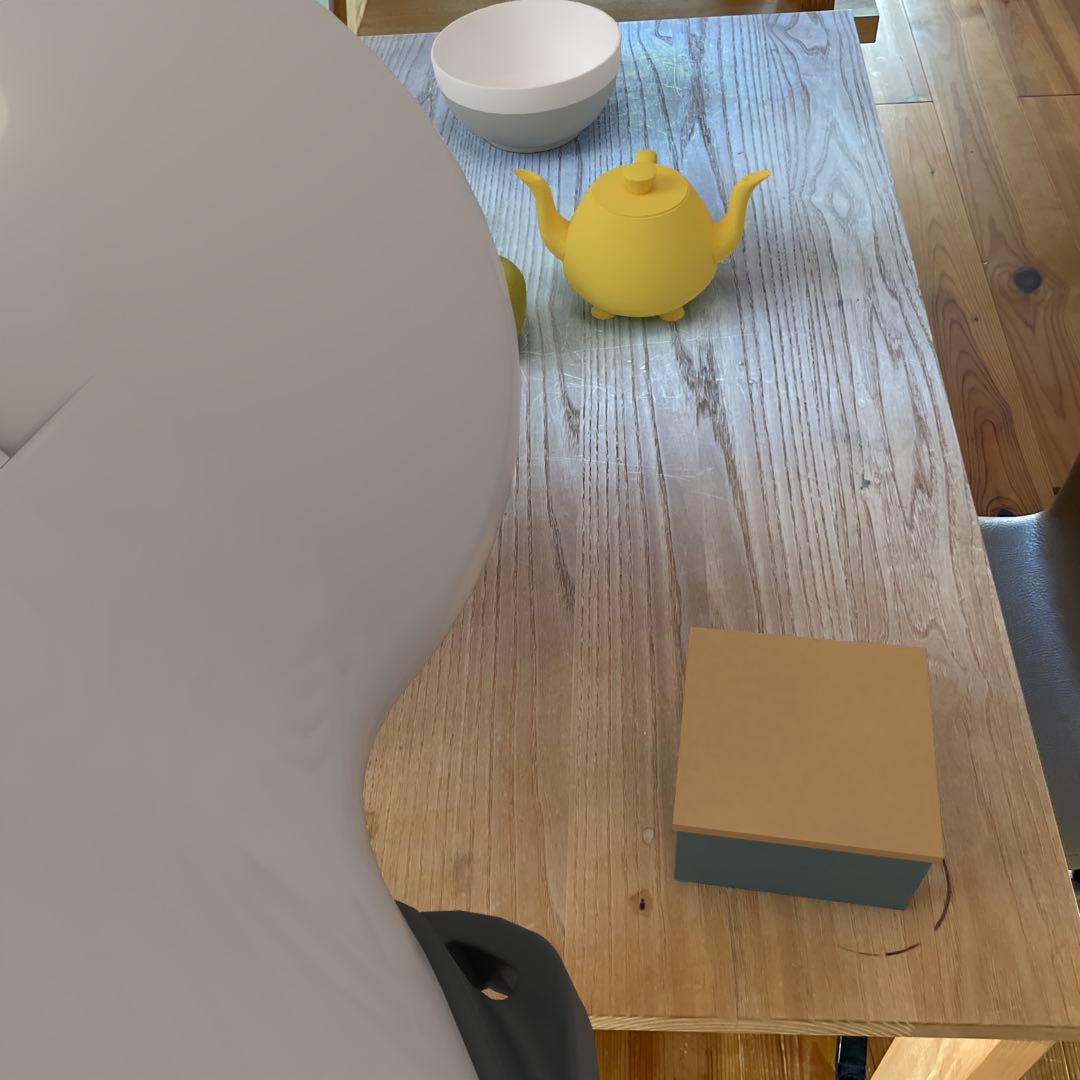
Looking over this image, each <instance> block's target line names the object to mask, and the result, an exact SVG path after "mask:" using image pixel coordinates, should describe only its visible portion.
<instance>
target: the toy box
mask: <svg viewBox="0 0 1080 1080" xmlns="http://www.w3.org/2000/svg"><path fill="white" fill-rule="evenodd" d="M688 631H689V632H688V641H687V642H688V643H687V652H686V653H687V654H686V664H685V665H686V666H685V676H684V687H683V688H684V689H683V700H682V702H683V703H682V710H681V711H682V712H681V723H680V734H679V746H678V758H677V768H676V778H675V779H676V780H675V791H674V801H673V804H674V805H673V816H672V826H671V827H672V831H674V832H675V833H676V834H675V849H674V864H673V865H674V866H673V880H675V881H683V882H689V883H696V884H697V883H698V884H703V885H713V886H719V887H726V888H734V889H735V888H736V889H741V890H749V891H757V892H765V893H772V894H779V895H787V896H795V897H802V898H810V899H815V900H823V901H832V902H840V903H847V904H852V905H853V904H854V905H861V906H868V907H877V908H884V909H890V910H891V909H892V910H898V911H899V910H900V911H905V910H906V908H907V906H908V905H909V903H910V902H911V900H912V898H913V896H914V895H915V893H916V891H917V890H918V888H919V886H920V885H921V883H922V882H923V880H924V878H925V877H926V875H927V873H928V872H929V870H930V869H931V867H932V865H933V864H941V863H942V862H943V860H944V859H945V852H944V851H945V850H944V849H945V848H944V838H943V827H942V815H941V804H940V793H939V780H938V766H937V757H936V744H935V733H934V722H933V721H934V720H933V709H932V708H933V707H932V699H931V686H930V674H929V663H928V661H929V660H928V651H927V647H919V646H918V647H917V646H905V645H895V644H884V643H875V642H863V641H851V640H840V639H830V638H829V639H828V638H819V637H807V636H798V635H797V636H795V635H785V634H774V633H763V632H755V631H754V632H752V631H744V630H743V631H741V630H730V629H719V628H708V627H698V626H689V630H688Z"/></svg>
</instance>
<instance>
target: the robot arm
mask: <svg viewBox="0 0 1080 1080" xmlns="http://www.w3.org/2000/svg"><path fill="white" fill-rule="evenodd" d="M499 255H500V254H499V252H498V250H497V247H496V243H495V241H494V237H493V235H492V233H491V230H490V227H489V224H488V221H487V217H486V215H485V213H484V211H483V209H482V207H481V205H480V203H479V201H478V199H477V197H476V195H475V193H474V191H473V188H472V187H471V185H470V183H469V181H468V179H467V176H466V175H465V173H464V170H463V169H462V167H461V165H460V162H459V161H458V160H457V157H456V156H455V154H454V153H453V152H452V150H451V149H450V147H449V146H448V144H447V143H446V141H445V139H444V138H443V136H442V135H441V133H440V131H439V130H438V129H437V127H436V125H435V124H434V122H433V121H432V120H431V118H430V116H429V115H428V114H427V112H426V110H425V109H424V107H423V106H422V105H421V104H420V103H419V102H418V100H417V99H416V98H415V97H414V95H412V93H411V92H410V91H409V89H407V87H406V86H405V85H404V83H402V82H401V79H399V78H398V76H397V75H396V74H395V73H394V72H393V71H392V70H391V68H390V67H389V66H388V65H387V64H386V62H385V61H384V60H383V59H382V58H381V56H379V55H378V54H377V52H375V51H374V50H373V48H371V47H369V45H368V44H367V43H365V42H364V41H363V40H362V39H361V38H360V37H359V36H358V35H357V34H356V33H354V31H353V30H352V29H351V28H349V27H348V26H347V24H345V23H344V22H343V21H342V20H341V19H340V18H339V17H338V16H337V15H335V13H333V12H332V11H331V10H330V9H329V8H327V7H326V6H324V5H323V4H322V3H320V2H319V1H318V0H0V1080H601V1079H600V1077H601V1076H600V1070H599V1068H600V1067H599V1060H598V1052H597V1045H596V1040H595V1034H594V1030H593V1029H594V1028H593V1025H592V1022H591V1019H590V1017H589V1014H588V1012H587V1008H586V1006H585V1005H584V1003H583V1001H582V999H581V998H580V995H579V993H578V991H577V988H576V987H575V984H574V982H573V981H572V978H571V975H570V974H569V972H568V969H567V968H566V965H565V963H564V961H563V959H562V957H561V956H560V954H559V952H558V950H557V949H556V947H555V946H554V945H553V944H552V943H551V942H550V941H549V940H548V939H547V938H546V937H544V936H543V935H541V934H540V933H539V932H535V931H534V930H531V929H528V928H526V927H524V926H522V925H519V924H517V923H514V922H513V921H510V920H508V919H506V918H503V917H500V916H496V915H490V914H485V913H478V912H473V911H468V910H461V909H458V910H457V909H455V910H454V909H453V910H452V909H451V910H429V911H419V910H417V909H416V908H415V907H413V906H411V905H409V904H407V903H404V902H403V901H400V900H399V899H398V900H397V899H394V897H393V896H392V894H391V892H390V891H391V890H390V889H389V887H388V885H387V884H386V882H385V880H384V877H383V874H382V871H381V868H380V866H379V863H378V860H377V857H376V854H375V852H374V849H373V846H372V844H371V839H370V836H369V831H368V828H367V820H366V811H365V802H364V801H365V800H364V790H365V780H366V773H367V769H368V768H367V767H368V763H369V760H370V759H369V758H370V755H371V752H372V749H373V746H374V744H375V741H376V739H377V736H378V734H379V732H380V730H381V729H382V727H383V725H384V724H385V722H386V720H387V718H388V717H389V715H390V713H391V711H392V710H393V707H394V706H395V704H396V703H397V702H398V701H399V699H400V698H401V696H402V695H403V694H404V692H406V690H407V689H408V687H409V686H410V685H411V683H412V682H413V681H414V680H415V679H416V677H417V676H418V675H419V673H420V672H421V671H422V670H423V669H424V667H425V666H426V664H428V662H429V661H430V660H431V658H432V657H433V656H434V654H435V653H436V652H437V651H438V649H439V648H440V647H441V645H442V644H443V643H444V641H445V639H446V637H447V636H448V634H449V633H450V632H451V630H452V628H453V626H454V625H455V623H456V622H457V620H458V618H459V617H460V615H461V614H462V612H463V611H464V609H465V607H466V605H467V604H468V602H469V601H470V599H471V597H472V595H473V594H474V591H475V589H476V587H477V585H478V582H479V580H480V579H481V576H482V573H483V571H484V569H485V567H486V565H487V563H488V561H489V559H490V556H491V554H492V552H493V550H494V547H495V544H496V541H497V538H498V534H499V531H500V528H501V525H502V521H503V519H504V515H505V512H506V508H507V506H508V502H509V499H510V496H511V492H512V491H511V490H512V485H513V479H514V474H515V467H516V462H517V456H518V450H519V446H520V445H519V444H520V436H521V435H520V432H521V407H522V385H523V384H522V373H521V363H520V351H519V341H518V340H519V338H517V328H516V323H515V318H514V314H513V309H512V305H511V300H510V295H509V291H508V286H507V281H506V277H505V272H504V269H503V266H502V263H501V261H500V258H499ZM485 990H491V991H494V992H496V993H499V994H501V995H503V996H506V997H505V998H502V999H495V998H492V997H490V996H489V995H487V994H485V993H484V992H483V991H485Z"/></svg>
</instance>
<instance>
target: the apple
mask: <svg viewBox="0 0 1080 1080" xmlns="http://www.w3.org/2000/svg"><path fill="white" fill-rule="evenodd" d="M498 255H499V258H500V261H501V263H502V266H503V269H504V272H505V277H506V281H507V286H508V291H509V295H510V300H511V305H512V309H513V314H514V318H515V323H516V328H517V338H518V339H519V337H520V335H521V334H522V331H523V328H524V324H525V321H526V317H527V316H526V315H527V283H526V280H525V277H524V274H522V271H521V270H520V269H519V268H518V267H517V265H516V264H515V263H514V262H512V261H511V260H510V259H509V258H506V256H502V255H500V254H498Z"/></svg>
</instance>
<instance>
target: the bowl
mask: <svg viewBox="0 0 1080 1080" xmlns="http://www.w3.org/2000/svg"><path fill="white" fill-rule="evenodd" d="M622 40H623V35H622V32H621V28H620V26H619V24H618V23H617V22H616V20H615V19H614V18H613V17H612V16H611V15H609V14H608V13H607V12H605V11H604V10H601V9H599V8H597V7H595V6H593V5H589V4H586V3H584V2H583V3H582V2H579V1H574V0H512V1H510V0H509V1H504V2H501V3H496V4H492V5H489V6H486V7H483V8H480V9H476V10H473V11H472V12H469V13H467V14H465V15H463V16H460V17H459V18H457V19H455V20H454V21H452V22H451V23H450V24H448V25H447V26H446V27H445V28H443V29H442V30H441V31H440V32H439V34H438V35H437V36H436V37H435V39H434V41H433V43H432V45H431V48H430V60H431V65H432V68H433V72H434V77H435V81H436V83H437V86H438V88H439V90H440V92H441V94H442V97H443V99H444V102H445V104H446V105H447V108H448V110H449V111H450V112H451V114H452V115H453V116H454V117H455V118H456V119H457V120H458V121H459V122H461V124H462V125H463V126H464V127H465V128H466V129H467V130H468V131H469V132H470V133H472V134H473V135H475V136H476V137H478V138H480V139H483V140H486V141H487V142H488V143H489V144H490V145H492V146H494V147H495V148H496V149H500V150H502V151H507V152H510V153H511V152H512V153H518V154H519V153H522V154H526V153H527V154H528V153H529V154H533V153H541V152H545V151H550V150H554V149H556V148H559V147H562V146H564V145H566V144H568V143H570V142H571V141H573V140H574V139H575V138H577V137H578V136H579V135H580V134H581V132H582V131H583V130H584V129H586V128H587V127H588V126H590V125H591V124H592V123H593V122H594V121H595V120H596V119H597V118H598V117H599V115H600V114H601V113H602V110H603V109H604V108H605V106H606V105H607V103H608V102H609V101H610V98H611V96H612V95H613V93H614V91H615V87H616V82H617V77H618V73H619V70H620V66H621V65H620V64H621V58H622V57H621V56H622V54H621V53H622Z"/></svg>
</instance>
